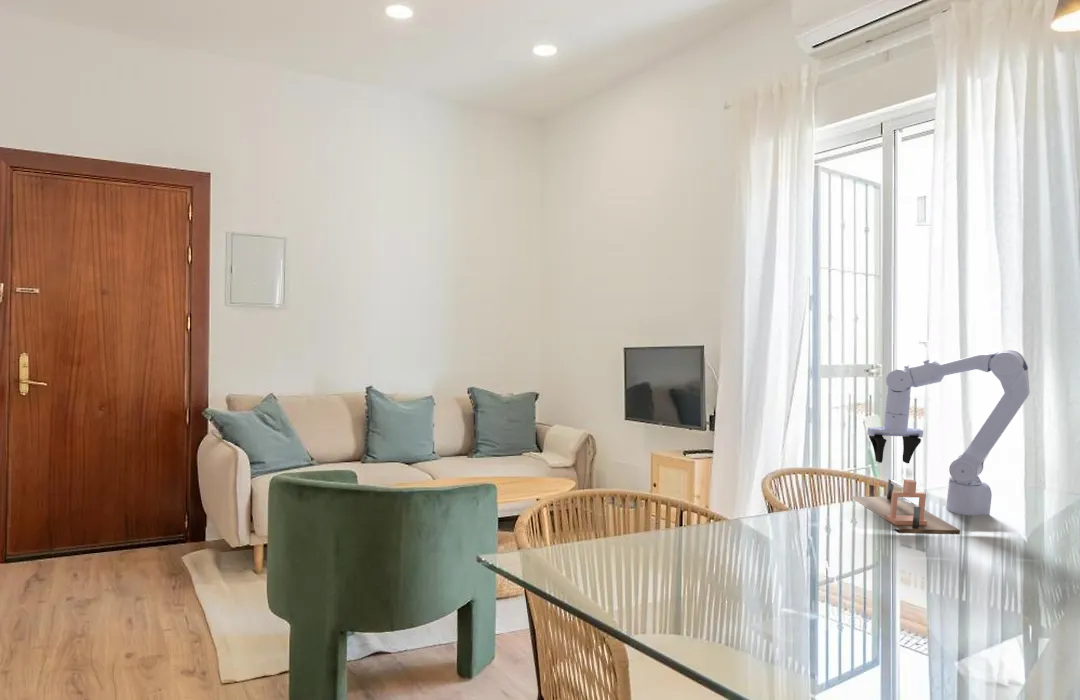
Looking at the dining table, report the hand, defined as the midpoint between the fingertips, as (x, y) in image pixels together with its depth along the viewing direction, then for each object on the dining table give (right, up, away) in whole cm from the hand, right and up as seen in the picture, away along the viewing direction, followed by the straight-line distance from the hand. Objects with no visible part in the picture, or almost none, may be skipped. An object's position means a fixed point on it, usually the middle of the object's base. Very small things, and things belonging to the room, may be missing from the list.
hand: (892, 462), depth 204 cm
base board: (-4, -12, -13) cm, 18 cm away
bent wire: (-4, -12, -13) cm, 18 cm away
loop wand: (-7, -12, -21) cm, 25 cm away
